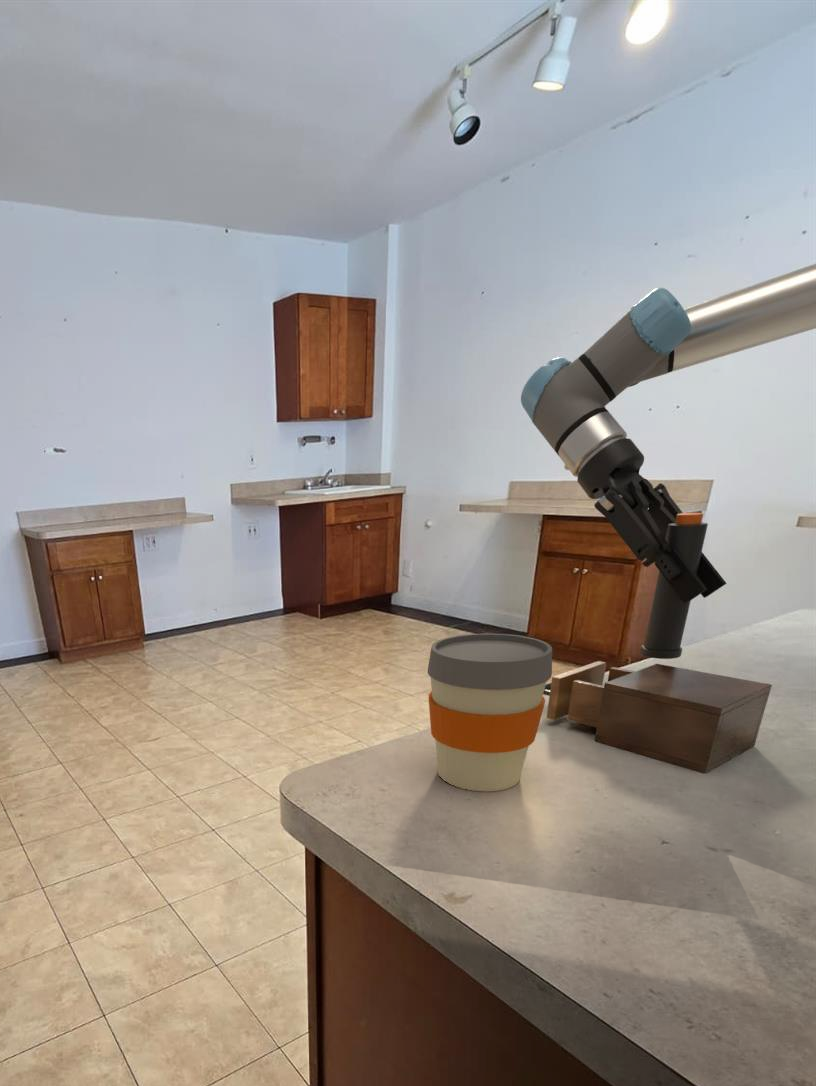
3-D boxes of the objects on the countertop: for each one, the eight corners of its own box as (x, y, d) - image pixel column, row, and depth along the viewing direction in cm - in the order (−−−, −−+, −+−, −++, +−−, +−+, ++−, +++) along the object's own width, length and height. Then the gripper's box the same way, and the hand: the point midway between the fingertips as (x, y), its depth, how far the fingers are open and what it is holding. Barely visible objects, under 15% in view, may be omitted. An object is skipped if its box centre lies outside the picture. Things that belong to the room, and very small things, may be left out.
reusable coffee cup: (415, 792, 71) (421, 660, 65) (428, 748, 81) (435, 632, 75) (538, 805, 66) (558, 665, 60) (536, 757, 77) (552, 634, 70)
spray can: (675, 650, 89) (706, 511, 82) (685, 659, 85) (718, 514, 78) (636, 649, 91) (663, 513, 83) (644, 658, 87) (673, 516, 79)
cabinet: (594, 740, 80) (604, 682, 77) (644, 718, 85) (656, 663, 82) (705, 773, 70) (722, 708, 67) (754, 746, 75) (772, 684, 72)
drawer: (520, 711, 88) (525, 670, 86) (565, 694, 93) (571, 655, 91) (633, 742, 76) (642, 696, 74) (678, 721, 81) (688, 678, 79)
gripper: (614, 476, 95) (711, 601, 89) (542, 484, 87) (643, 622, 81) (659, 433, 88) (766, 564, 82) (586, 437, 80) (698, 583, 74)
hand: (705, 593), depth 82 cm, fingers closed on spray can, 4 cm apart
